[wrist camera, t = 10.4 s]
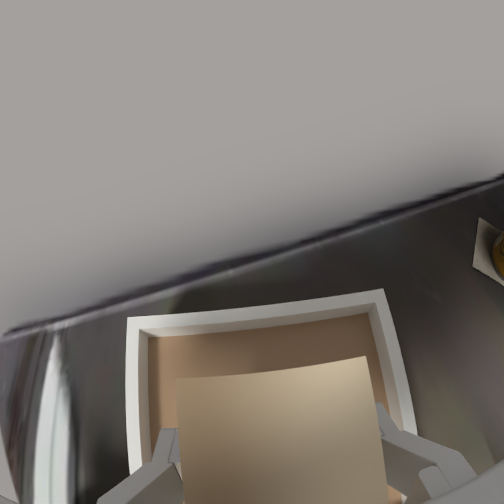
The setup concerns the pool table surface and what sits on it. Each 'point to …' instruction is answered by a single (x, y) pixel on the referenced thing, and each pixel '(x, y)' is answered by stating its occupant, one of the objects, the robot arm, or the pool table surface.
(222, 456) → the beech peg
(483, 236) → the condiment
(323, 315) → the open box
